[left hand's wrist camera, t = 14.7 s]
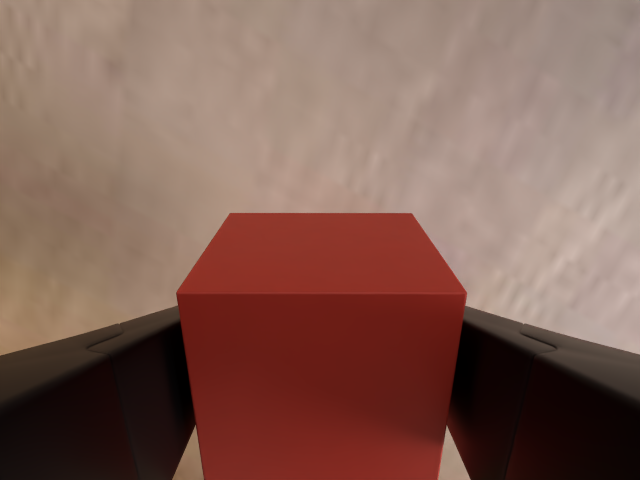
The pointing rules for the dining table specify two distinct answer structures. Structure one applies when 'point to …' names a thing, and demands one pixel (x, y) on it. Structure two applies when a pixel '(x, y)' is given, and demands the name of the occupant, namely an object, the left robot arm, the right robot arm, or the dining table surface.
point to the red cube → (321, 347)
